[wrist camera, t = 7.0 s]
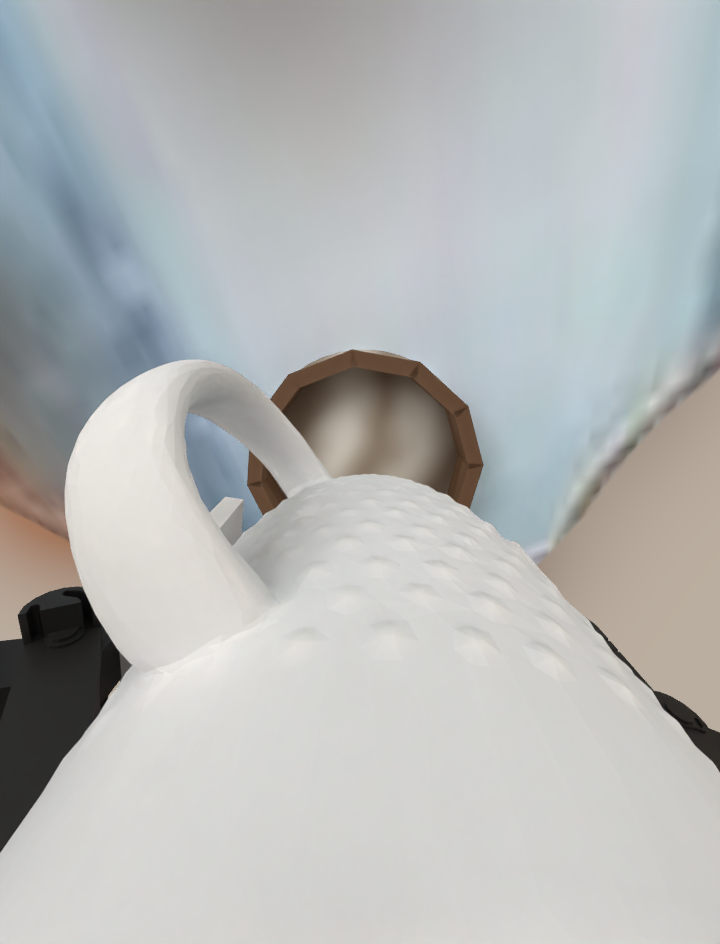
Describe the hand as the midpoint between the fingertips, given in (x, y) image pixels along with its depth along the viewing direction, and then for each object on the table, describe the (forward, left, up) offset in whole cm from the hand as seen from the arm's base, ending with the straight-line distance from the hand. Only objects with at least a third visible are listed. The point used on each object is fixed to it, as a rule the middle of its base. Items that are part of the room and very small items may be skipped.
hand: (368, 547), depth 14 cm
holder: (0, -2, -18) cm, 18 cm away
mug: (-1, 0, -1) cm, 2 cm away
